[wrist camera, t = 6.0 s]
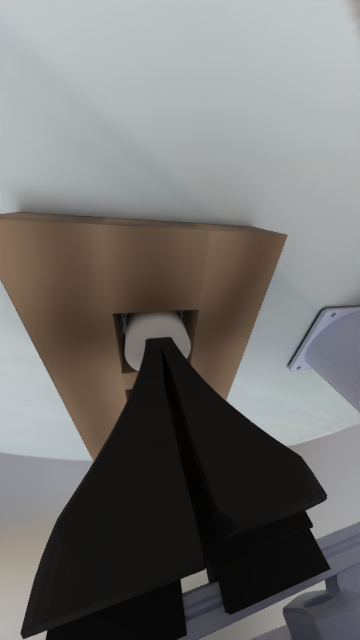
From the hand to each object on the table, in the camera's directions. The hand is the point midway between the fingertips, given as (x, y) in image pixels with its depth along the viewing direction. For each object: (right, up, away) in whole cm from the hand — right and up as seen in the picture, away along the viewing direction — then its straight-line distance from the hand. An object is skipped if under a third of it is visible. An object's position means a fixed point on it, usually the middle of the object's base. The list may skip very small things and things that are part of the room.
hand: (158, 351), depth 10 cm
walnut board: (-1, -3, +6) cm, 7 cm away
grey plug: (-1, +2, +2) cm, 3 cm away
